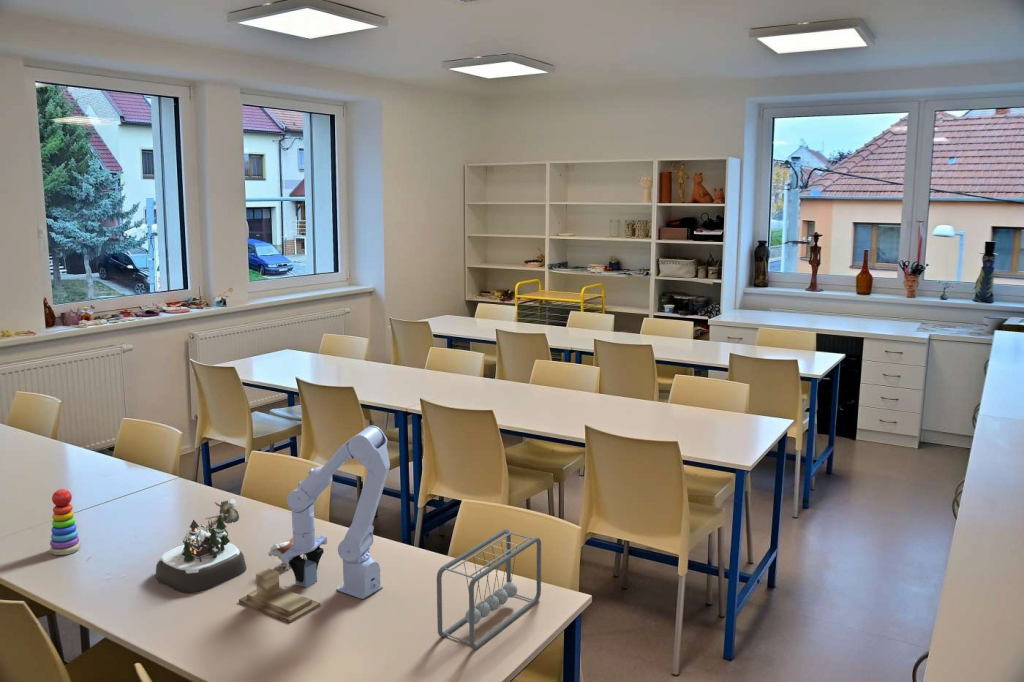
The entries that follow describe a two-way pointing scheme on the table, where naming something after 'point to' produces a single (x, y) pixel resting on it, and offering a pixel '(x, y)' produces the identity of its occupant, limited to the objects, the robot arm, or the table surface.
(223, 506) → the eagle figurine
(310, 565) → the slate block
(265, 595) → the brass block
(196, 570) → the miniature diorama
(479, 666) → the table surface
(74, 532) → the stacking toy
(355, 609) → the table surface
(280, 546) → the bull figurine
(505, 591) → the newton's cradle
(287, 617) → the plinth
